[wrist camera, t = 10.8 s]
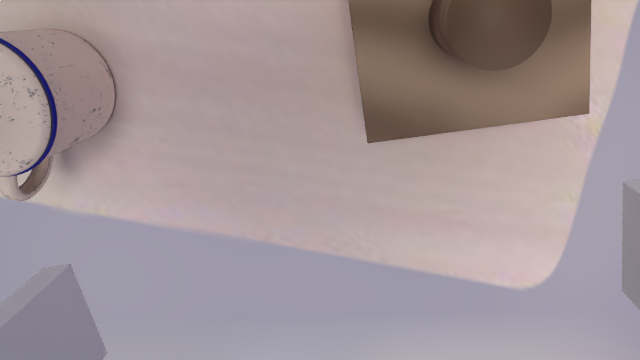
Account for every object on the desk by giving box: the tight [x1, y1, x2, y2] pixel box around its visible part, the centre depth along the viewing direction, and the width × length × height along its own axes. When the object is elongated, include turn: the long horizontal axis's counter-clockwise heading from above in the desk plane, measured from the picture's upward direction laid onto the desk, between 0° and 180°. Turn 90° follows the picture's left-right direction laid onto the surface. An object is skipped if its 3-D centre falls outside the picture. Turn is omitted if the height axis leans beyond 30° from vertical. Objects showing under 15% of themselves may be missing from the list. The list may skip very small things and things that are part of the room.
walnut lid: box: [349, 0, 591, 143], centre depth 25 cm, size 13×13×8 cm
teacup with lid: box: [0, 29, 115, 201], centre depth 33 cm, size 12×9×12 cm
